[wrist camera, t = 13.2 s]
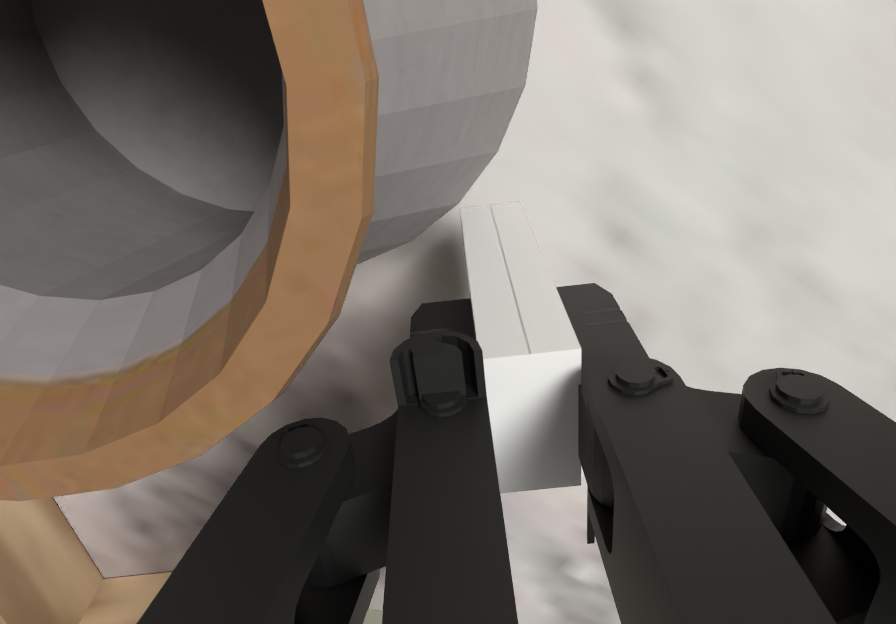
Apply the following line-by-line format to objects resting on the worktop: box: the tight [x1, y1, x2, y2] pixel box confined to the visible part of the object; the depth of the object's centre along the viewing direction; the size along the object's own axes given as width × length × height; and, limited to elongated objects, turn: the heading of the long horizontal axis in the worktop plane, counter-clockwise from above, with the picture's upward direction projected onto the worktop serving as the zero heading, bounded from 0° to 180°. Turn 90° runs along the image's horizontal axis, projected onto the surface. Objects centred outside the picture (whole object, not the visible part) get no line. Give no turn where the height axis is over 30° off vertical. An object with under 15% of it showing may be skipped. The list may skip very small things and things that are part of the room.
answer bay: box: [0, 497, 172, 624], centre depth 16 cm, size 12×30×4 cm, turn 7°
